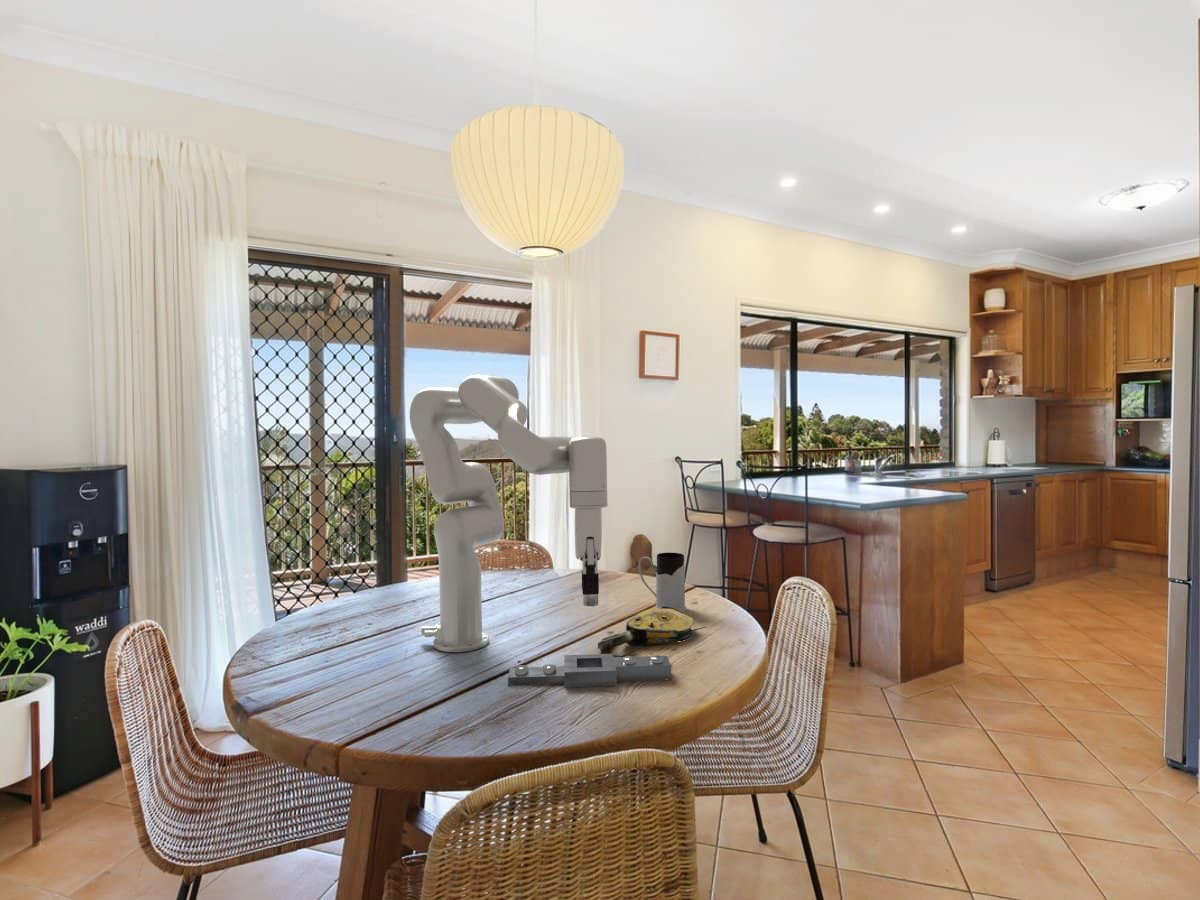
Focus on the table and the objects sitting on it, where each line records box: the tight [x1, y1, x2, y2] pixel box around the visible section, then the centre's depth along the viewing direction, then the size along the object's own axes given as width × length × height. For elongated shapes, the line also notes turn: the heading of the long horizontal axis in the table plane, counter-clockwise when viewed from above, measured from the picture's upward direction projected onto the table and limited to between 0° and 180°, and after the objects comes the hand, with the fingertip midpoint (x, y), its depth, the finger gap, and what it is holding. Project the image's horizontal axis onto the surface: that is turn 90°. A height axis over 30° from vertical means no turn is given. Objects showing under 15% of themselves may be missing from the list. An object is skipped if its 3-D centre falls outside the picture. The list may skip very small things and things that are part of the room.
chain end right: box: [563, 653, 672, 683], centre depth 123 cm, size 21×9×4 cm, turn 93°
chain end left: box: [507, 663, 617, 689], centre depth 122 cm, size 21×9×2 cm, turn 93°
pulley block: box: [597, 606, 708, 651], centre depth 145 cm, size 14×6×30 cm
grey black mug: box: [638, 552, 687, 613], centre depth 170 cm, size 9×14×15 cm, turn 58°
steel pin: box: [579, 555, 601, 607], centre depth 122 cm, size 4×4×10 cm
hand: (590, 590), depth 122 cm, fingers closed on steel pin, 3 cm apart
